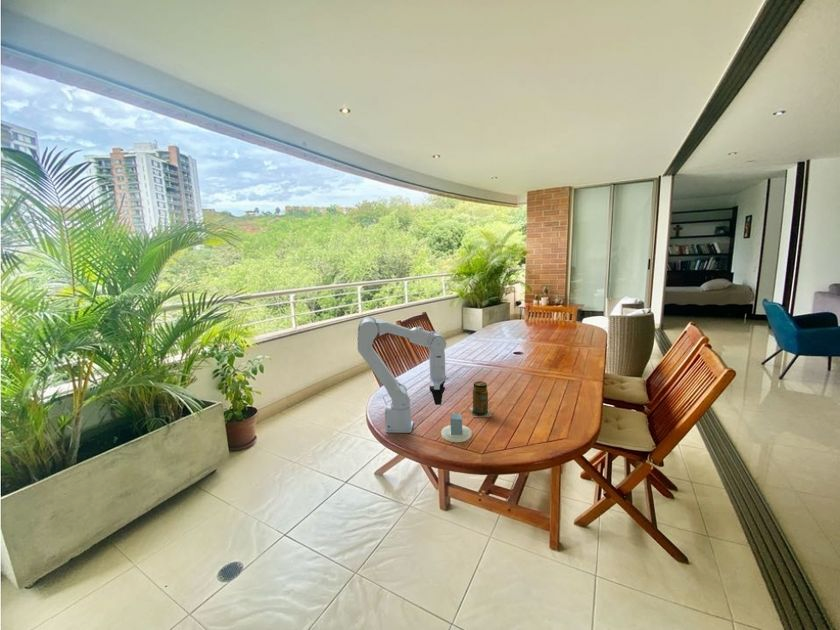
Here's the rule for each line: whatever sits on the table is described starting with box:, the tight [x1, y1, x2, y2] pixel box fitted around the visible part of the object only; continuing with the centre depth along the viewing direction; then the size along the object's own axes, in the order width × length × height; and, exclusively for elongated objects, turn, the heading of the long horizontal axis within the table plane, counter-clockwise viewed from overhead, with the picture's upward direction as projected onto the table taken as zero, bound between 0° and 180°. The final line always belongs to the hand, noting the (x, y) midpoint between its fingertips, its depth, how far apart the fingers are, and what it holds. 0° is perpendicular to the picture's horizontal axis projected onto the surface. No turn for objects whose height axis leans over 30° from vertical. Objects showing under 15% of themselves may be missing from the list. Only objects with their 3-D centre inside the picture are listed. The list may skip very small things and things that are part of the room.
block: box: [449, 413, 463, 435], centre depth 121 cm, size 4×4×6 cm
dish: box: [440, 424, 473, 443], centre depth 122 cm, size 11×11×1 cm
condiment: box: [469, 380, 493, 418], centre depth 135 cm, size 7×8×12 cm
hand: (438, 399), depth 128 cm, fingers open, 7 cm apart
